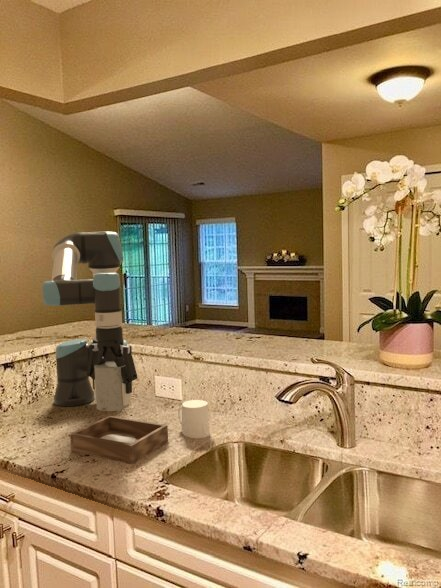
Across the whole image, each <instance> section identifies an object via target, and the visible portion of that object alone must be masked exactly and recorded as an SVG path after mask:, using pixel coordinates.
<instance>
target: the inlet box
mask: <svg viewBox="0 0 441 588" xmlns="http://www.w3.org/2000/svg"><path fill="white" fill-rule="evenodd" d="M69 434H70V437H69V438H70V451H71V452H75V453H78V454H84V455H88V456H93V457H97V458H103V459H108V460H113V461H116V462H122V463H127V464H131V465H134V464H136V463H137V462H138V461H139V460H141V459H144V457H147V456H148V455H149V454H151V453H152V452H154V451H156V450H158V448H160V447H162V446H163V445H165V444H166V443H168V442H169V427H168V424H164V423H157V422H150V421H145V420H144V421H143V420H140V419H139V420H137V419H131V418H126V417H118V416H112V415H108V416H106V417H104V418H102V419H99V420H98V421H95V422H93V423H91V424H88V425H87V426H84V427H83V428H80V429H79V430H75V431H73V432H72V433H69Z"/></svg>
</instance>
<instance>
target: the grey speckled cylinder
mask: <svg viewBox="0 0 441 588" xmlns="http://www.w3.org/2000/svg"><path fill="white" fill-rule="evenodd" d="M124 366H125V365H124ZM124 366H121V367H124ZM94 367H95V386H96V403H95V404H96V407H95V408H96V410H98V411H101V412H116V411H121V410H124V409H127V408H129V406H131V403H130V404H128V405H126V406H123V397H122V383H123V382H124V380H123V378H122V376H121V367H117V365H116V363H115V362H114V361H108V362H105V364H101V365H94Z"/></svg>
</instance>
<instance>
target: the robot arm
mask: <svg viewBox="0 0 441 588" xmlns="http://www.w3.org/2000/svg"><path fill="white" fill-rule="evenodd" d="M51 252H52V253H51V259H52V261H53V266H52V273H51V280H45V281H43V283H42V287H41V288H42V291H41V292H42V301H43V304H44V305H45V306H48V307H49V306H50V307H51V306H52V307H55V306H56V307H59V306H70V305H71V306H74V305H92V304H94V317H95V319H94V321H95V322H94V323H95V334H94V336H93V337H92V342H88V341H87V339H86V338H76V339H72V340H68V341H64V342H61V343H60V344H58V345H56V348H55V359H56V378H57V380H56V381H57V384H56V388H55V393H54V395H53V404H54V405H56V406H58V407H59V406H60V407H76V406H82V405H87V404H88V403H91V402H93V401H95V402H96V386H95V367H94V365H101V364H105V362H108V361H114V362H115V363H116V365H117V367H121V366H124V365H125V366H124V367H121V376H122V378H123V380H124V382H123V383H122V397H123V406H126V405H128V404H130V405H131V404H132V400H131V399H132V397H131V395H132V392H133V381H136V380H138V373H137V369H136V366H135V362H134V357H133V352H132V350H133V349H132V348H133V347H132V345H128V341H127V340H126V339H124V335H123V333H124V332H123V327H122V326H121V325H122V324H123V315H122V314H123V313H122V312H123V311H122V297H121V280H120V279H121V278H120V274H119V273H118V272H117V271H118V270H119V269H120V268H121V267H120V264H122V263H124V254H123V248H122V243H121V238H120V235H119V233H118V232H115V231H90V232H88V231H83V232H82V231H80V232H79V231H78V232H72V233H70V234H67V235H65V236H63V237H61V238H60V239H59V240H58V241H57V242H56V243H55V245H54V246H53V248H52V251H51ZM79 264H82V265H83V264H87V265H88V266H87V267H88V268H87V269H88V270H90V271H91V272H92V278H86V279H85V278H83V279H78V278H77V274H78V273H77V271H78V265H79ZM90 378H91V379H92V384H91V382H90Z"/></svg>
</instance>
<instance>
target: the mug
mask: <svg viewBox="0 0 441 588" xmlns="http://www.w3.org/2000/svg"><path fill="white" fill-rule="evenodd" d="M177 417H178V420H179V423H180V427H181V430H180V431H182V432H181V434H182V435H183V436H185V437H188V438H190V439H191V438H192V439H204V438H207V437H209V436H210V434H211V431H210V422H209V421H210V414H209V404H208V402H207V401H206V400H204V399H203V400H202V399H192V400H186V401H184V402H182V404H181V406H179V408H178V410H177Z"/></svg>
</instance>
